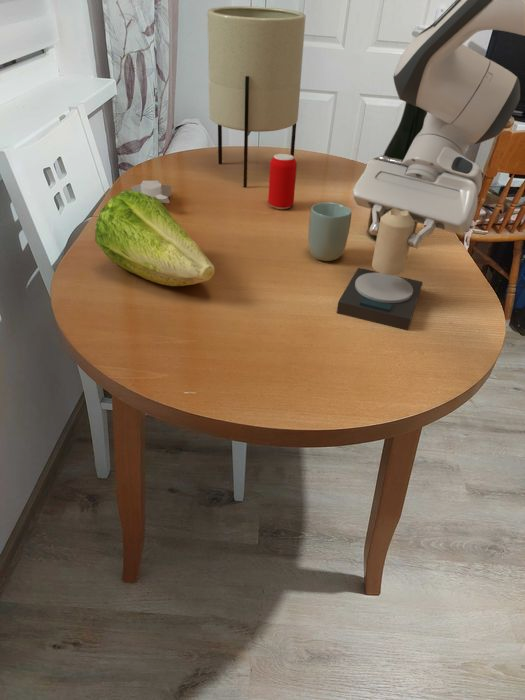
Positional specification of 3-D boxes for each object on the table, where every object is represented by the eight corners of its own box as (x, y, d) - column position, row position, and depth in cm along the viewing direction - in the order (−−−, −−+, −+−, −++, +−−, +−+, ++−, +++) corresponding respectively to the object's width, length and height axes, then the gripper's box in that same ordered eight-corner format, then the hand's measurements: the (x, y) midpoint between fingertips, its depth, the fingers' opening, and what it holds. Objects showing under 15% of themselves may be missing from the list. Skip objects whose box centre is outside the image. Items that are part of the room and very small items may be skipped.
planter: (201, 187, 138) (195, 14, 114) (220, 157, 157) (218, 3, 133) (288, 195, 137) (301, 21, 112) (296, 164, 155) (309, 9, 131)
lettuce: (241, 292, 94) (177, 329, 85) (156, 240, 106) (92, 269, 97) (242, 220, 84) (170, 254, 76) (148, 172, 96) (77, 197, 87)
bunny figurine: (169, 176, 129) (172, 189, 116) (171, 197, 131) (174, 212, 118) (130, 177, 127) (129, 190, 114) (132, 198, 130) (131, 213, 117)
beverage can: (294, 211, 125) (298, 160, 118) (268, 210, 124) (271, 159, 117) (291, 202, 130) (295, 152, 122) (267, 201, 129) (269, 152, 122)
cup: (331, 246, 109) (337, 200, 103) (351, 261, 104) (359, 213, 98) (299, 251, 106) (303, 204, 100) (318, 268, 101) (324, 219, 95)
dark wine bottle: (414, 249, 110) (456, 75, 91) (365, 242, 112) (395, 71, 92) (413, 230, 119) (450, 68, 99) (367, 224, 120) (395, 63, 101)
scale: (420, 292, 95) (423, 278, 93) (407, 330, 84) (411, 315, 83) (356, 277, 98) (358, 264, 97) (336, 312, 88) (338, 298, 86)
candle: (365, 263, 89) (375, 206, 84) (392, 258, 91) (404, 203, 85) (382, 277, 85) (394, 219, 80) (410, 272, 87) (424, 216, 81)
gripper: (369, 142, 88) (332, 213, 87) (490, 169, 78) (450, 249, 77) (377, 164, 93) (342, 231, 92) (490, 191, 84) (453, 266, 83)
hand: (392, 239), depth 85 cm, fingers closed on candle, 5 cm apart
